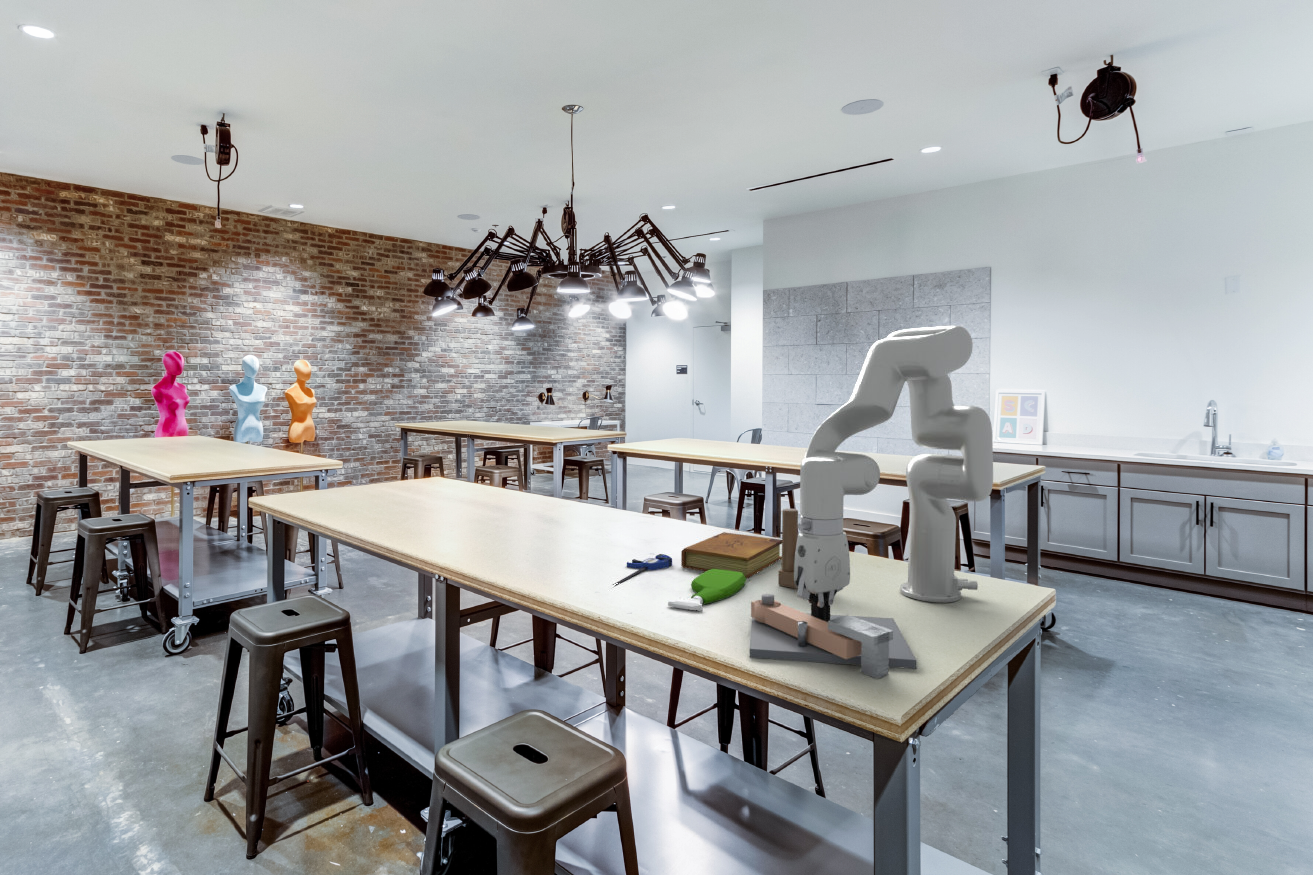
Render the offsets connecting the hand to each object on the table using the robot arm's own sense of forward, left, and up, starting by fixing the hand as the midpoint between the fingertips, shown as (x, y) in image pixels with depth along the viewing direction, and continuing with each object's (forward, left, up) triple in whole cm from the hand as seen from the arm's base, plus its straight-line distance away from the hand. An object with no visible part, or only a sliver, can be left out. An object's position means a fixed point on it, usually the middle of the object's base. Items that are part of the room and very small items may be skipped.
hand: (820, 625), depth 117 cm
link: (+3, +2, -1) cm, 4 cm away
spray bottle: (+23, -24, -4) cm, 33 cm away
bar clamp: (+43, -36, -4) cm, 56 cm away
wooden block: (+1, -33, -3) cm, 33 cm away
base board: (-1, -1, -3) cm, 3 cm away
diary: (+18, -53, -4) cm, 56 cm away
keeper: (-3, +9, -3) cm, 10 cm away
